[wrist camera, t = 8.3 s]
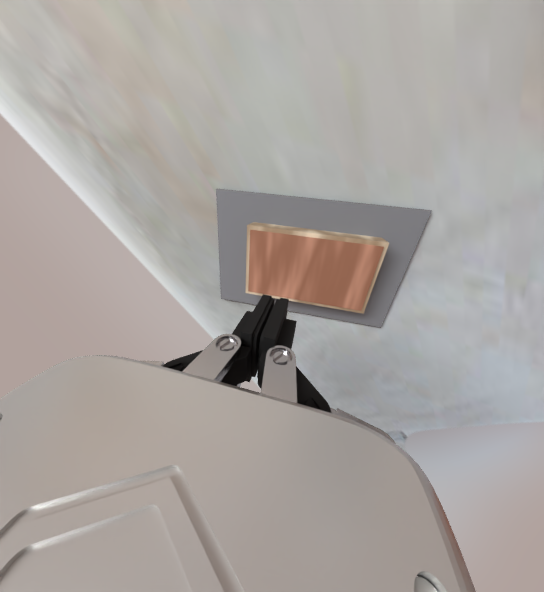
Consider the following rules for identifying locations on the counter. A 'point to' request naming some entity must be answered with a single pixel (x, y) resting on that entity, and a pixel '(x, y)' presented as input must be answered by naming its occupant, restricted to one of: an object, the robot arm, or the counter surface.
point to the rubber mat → (320, 216)
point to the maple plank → (313, 265)
